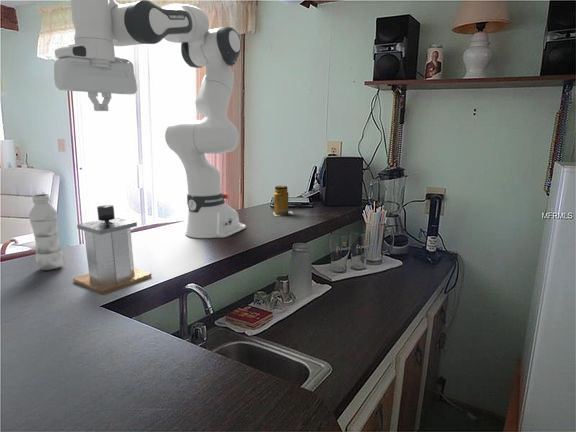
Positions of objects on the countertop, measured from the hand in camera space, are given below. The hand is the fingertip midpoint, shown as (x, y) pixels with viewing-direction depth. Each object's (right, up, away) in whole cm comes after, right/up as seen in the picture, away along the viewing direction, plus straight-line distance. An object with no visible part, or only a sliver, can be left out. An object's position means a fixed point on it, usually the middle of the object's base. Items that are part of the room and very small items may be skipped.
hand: (101, 111), depth 104 cm
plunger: (+4, -41, -4) cm, 42 cm away
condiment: (+46, -26, +69) cm, 87 cm away
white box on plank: (+4, -43, -3) cm, 43 cm away
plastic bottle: (-16, -41, +5) cm, 44 cm away
